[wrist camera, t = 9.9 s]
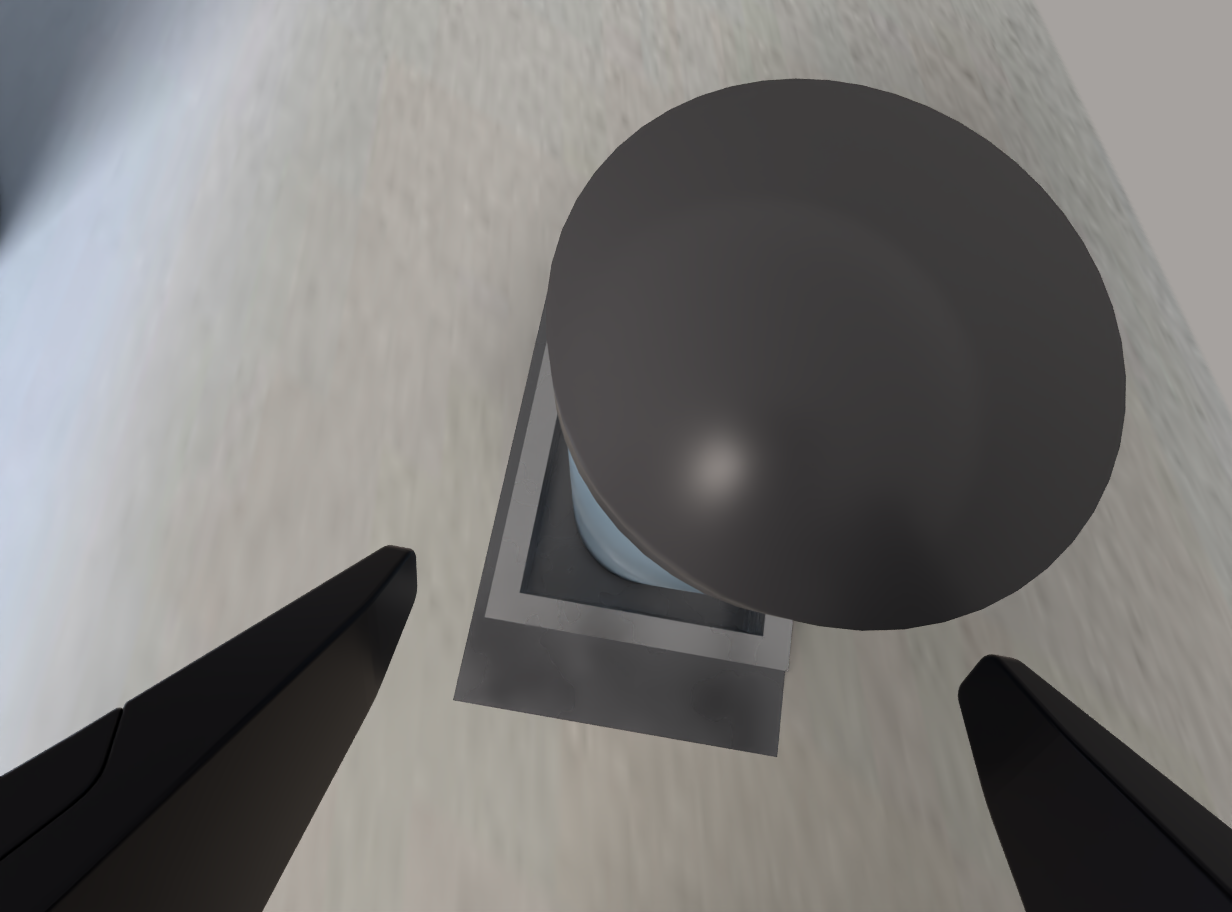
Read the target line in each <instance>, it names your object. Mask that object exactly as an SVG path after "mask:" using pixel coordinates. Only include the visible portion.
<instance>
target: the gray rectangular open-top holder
mask: <svg viewBox="0 0 1232 912" xmlns="http://www.w3.org/2000/svg"><path fill="white" fill-rule="evenodd" d="M546 298H547V296H546ZM792 624H793V620H789V619H785V618H780V617H776V616H771V615H767V614H763V613H759V612H755V611H751V610H747V609H743V608H739V607H736V606H734V605H731V604H729V603H726V602H724V601H721V600H719V599H716V598H714V597H711V596H709V595H706V594H701V593H695V592H689V591H683V590H676V589H670V588H664V587H658V586H652V585H646V584H640V583H635V582H631V581H628V580H625V579H623V578H620V577H618V576H616V575H615V574H613V573H611V572H609V571H608V570H607V569H605V568H604V567H603V566H601V565H600V564H599V563H598V562H597V561H596V560H595V559H594V558H593V557H592V555H591V554H590V553H589V551H588V550H587V549H586V547H585V545H584V544H583V542H582V540H581V538H580V535H579V533H578V530H577V527H576V523H575V518H574V511H573V500H572V489H571V478H570V466H569V455H568V447H567V444H566V442H565V439H564V435H563V432H562V428H561V425H560V421H559V417H558V414H557V410H556V404H555V397H554V389H553V382H552V375H551V368H550V360H549V353H548V346H547V338H546V300H545V305H544V309H543V313H542V317H541V322H540V326H539V330H538V335H537V339H536V343H535V348H534V352H533V356H532V361H531V365H530V369H529V374H528V378H527V382H526V387H525V391H524V395H523V400H522V404H521V408H520V413H519V417H518V421H517V426H516V430H515V434H514V439H513V443H512V447H511V452H510V456H509V460H508V465H507V469H506V473H505V478H504V482H503V486H502V491H501V495H500V499H499V504H498V508H497V512H496V517H495V521H494V525H493V530H492V534H491V538H490V543H489V547H488V551H487V556H486V560H485V564H484V569H483V573H482V577H481V582H480V586H479V590H478V595H477V599H476V603H475V608H474V612H473V616H472V621H471V625H470V629H469V634H468V638H467V642H466V647H465V651H464V655H463V659H462V664H461V668H460V672H459V677H458V681H457V685H456V690H455V694H454V698H453V700H455V701H461V702H466V703H472V704H478V705H483V706H489V707H495V708H501V709H506V710H512V711H518V712H523V713H529V714H535V715H540V716H546V717H552V718H557V719H563V720H569V721H575V722H580V723H586V724H592V725H597V726H603V727H609V728H614V729H620V730H626V731H631V732H637V733H643V734H649V735H654V736H660V737H666V738H671V739H677V740H683V741H688V742H694V743H700V744H706V745H711V746H717V747H723V748H728V749H734V750H740V751H745V752H751V753H757V754H762V755H768V756H774V757H777V752H778V741H779V731H780V720H781V709H782V698H783V687H784V676H785V671H788V668H789V657H790V646H791V635H792Z"/></svg>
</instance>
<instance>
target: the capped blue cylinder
mask: <svg viewBox="0 0 1232 912" xmlns="http://www.w3.org/2000/svg"><path fill="white" fill-rule="evenodd" d="M546 338H547V346H548V353H549V360H550V368H551V375H552V382H553V389H554V397H555V404H556V410H557V414H558V417H559V421H560V425H561V428H562V432H563V435H564V439H565V442H566V444H567V447H568V455H569V466H570V478H571V489H572V500H573V511H574V518H575V523H576V527H577V530H578V533H579V535H580V538H581V540H582V542H583V544H584V545H585V547H586V549H587V550H588V551H589V553H590V554H591V555H592V557H593V558H594V559H595V560H596V561H597V562H598V563H599V564H600V565H601V566H603V567H604V568H605V569H607V570H608V571H609V572H611V573H613V574H615V575H616V576H618V577H620V578H623V579H625V580H628V581H631V582H635V583H640V584H646V585H652V586H658V587H664V588H670V589H676V590H683V591H689V592H695V593H701V594H706V595H709V596H711V597H714V598H716V599H719V600H721V601H724V602H726V603H729V604H731V605H734V606H736V607H739V608H743V609H747V610H751V611H755V612H759V613H763V614H767V615H771V616H776V617H780V618H785V619H789V620H794V621H798V622H803V623H807V624H812V625H817V626H824V627H833V628H842V629H851V630H860V631H866V630H897V629H909V628H914V627H920V626H925V625H931V624H936V623H942V622H946V621H949V620H952V619H955V618H958V617H961V616H964V615H967V614H970V613H973V612H975V611H978V610H981V609H984V608H986V607H988V606H989V605H991V604H993V603H995V602H997V601H999V600H1001V599H1003V598H1005V597H1007V596H1008V595H1010V594H1012V593H1014V592H1016V591H1018V590H1019V589H1020V588H1022V587H1023V586H1024V585H1026V584H1027V583H1028V582H1030V581H1031V580H1032V579H1034V578H1035V577H1036V576H1038V575H1039V574H1040V573H1042V572H1043V571H1044V570H1046V569H1047V568H1048V567H1049V566H1050V565H1051V564H1052V563H1053V562H1054V561H1055V560H1056V559H1057V558H1058V557H1059V556H1060V555H1061V554H1062V553H1063V552H1064V551H1065V550H1066V549H1067V548H1068V547H1069V545H1070V544H1071V543H1072V542H1073V541H1074V540H1075V538H1076V537H1077V535H1078V534H1079V533H1080V531H1081V530H1082V528H1083V527H1084V525H1085V524H1086V523H1087V521H1088V520H1089V518H1090V517H1091V515H1092V514H1093V513H1094V511H1095V509H1096V507H1097V505H1098V502H1099V500H1100V498H1101V496H1102V494H1103V492H1104V490H1105V488H1106V486H1107V484H1108V482H1109V480H1110V477H1111V473H1112V470H1113V467H1114V464H1115V460H1116V457H1117V454H1118V451H1119V447H1120V442H1121V436H1122V429H1123V423H1124V416H1125V392H1126V374H1125V366H1124V358H1123V350H1122V342H1121V337H1120V333H1119V330H1118V326H1117V322H1116V318H1115V314H1114V310H1113V306H1112V304H1111V301H1110V298H1109V296H1108V293H1107V291H1106V288H1105V285H1104V283H1103V280H1102V278H1101V275H1100V273H1099V271H1098V269H1097V267H1096V265H1095V263H1094V262H1093V260H1092V258H1091V256H1090V254H1089V252H1088V250H1087V248H1086V246H1085V244H1084V243H1083V241H1082V240H1081V238H1080V237H1079V235H1078V234H1077V232H1076V231H1075V229H1074V228H1073V226H1072V225H1071V223H1070V222H1069V220H1068V219H1067V217H1066V216H1065V214H1064V213H1063V212H1062V211H1061V209H1060V208H1059V207H1058V206H1057V205H1056V204H1055V202H1054V201H1053V200H1052V199H1051V198H1050V196H1049V195H1048V194H1047V193H1046V192H1045V191H1044V189H1043V188H1042V187H1041V186H1040V185H1039V184H1038V183H1037V182H1036V181H1035V180H1034V179H1033V178H1032V177H1031V176H1030V175H1029V174H1028V173H1027V172H1026V171H1024V170H1023V169H1022V168H1021V167H1020V166H1019V165H1018V164H1017V163H1016V162H1015V161H1014V160H1012V159H1011V158H1010V157H1009V156H1007V155H1006V154H1005V153H1003V152H1002V151H1001V150H1000V149H998V148H997V147H996V146H995V145H993V144H992V143H991V142H989V141H988V140H987V139H985V138H983V137H982V136H980V135H979V134H977V133H976V132H974V131H972V130H971V129H969V128H968V127H966V126H964V125H963V124H961V123H960V122H958V121H956V120H954V119H952V118H950V117H948V116H946V115H944V114H942V113H940V112H938V111H936V110H934V109H932V108H930V107H928V106H925V105H923V104H920V103H917V102H915V101H912V100H910V99H907V98H904V97H902V96H899V95H896V94H893V93H889V92H885V91H882V90H878V89H874V88H870V87H867V86H863V85H857V84H850V83H844V82H837V81H831V80H814V79H783V80H767V81H759V82H753V83H748V84H742V85H737V86H731V87H728V88H724V89H721V90H718V91H715V92H712V93H708V94H705V95H702V96H699V97H697V98H694V99H692V100H690V101H688V102H686V103H683V104H681V105H679V106H677V107H675V108H672V109H670V110H669V111H667V112H665V113H664V114H662V115H661V116H659V117H657V118H656V119H654V120H652V121H651V122H649V123H648V124H646V125H644V126H643V127H641V128H640V129H639V130H638V131H637V132H635V133H634V134H633V135H632V136H631V137H629V138H628V139H627V140H626V141H625V142H623V143H622V144H621V145H620V146H619V147H617V148H616V150H615V151H614V152H613V153H612V154H611V155H610V156H609V157H608V158H607V160H606V161H605V162H604V163H603V164H602V165H601V166H600V167H599V168H598V169H597V171H596V172H595V173H594V175H593V176H592V177H591V179H590V180H589V182H588V183H587V185H586V186H585V188H584V189H583V191H582V192H581V194H580V195H579V197H578V198H577V200H576V202H575V204H574V206H573V208H572V210H571V212H570V215H569V217H568V219H567V221H566V223H565V225H564V227H563V229H562V232H561V235H560V238H559V242H558V245H557V248H556V251H555V255H554V258H553V261H552V265H551V272H550V278H549V285H548V291H547V298H546Z"/></svg>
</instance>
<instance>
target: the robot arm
mask: <svg viewBox="0 0 1232 912" xmlns="http://www.w3.org/2000/svg"><path fill="white" fill-rule="evenodd" d="M416 593H417V569H416V555H415V552H414V551H413V550H412V549H410V548H404V547H398V546H393V545H387V546H384V547H382V548H381V549H379V550H377V551H376V552H374V553H372V554H371V555H369V556H367V557H366V558H364V559H362V560H361V561H359V562H357V563H356V564H354V565H353V566H351V567H349V568H348V569H346V570H344V571H343V572H341V573H339V574H338V575H336V576H334V577H333V578H331V579H329V580H328V581H326V582H324V583H323V584H321V585H319V586H318V587H316V588H315V589H313V590H311V591H310V592H308V593H306V594H305V595H303V596H301V597H300V598H298V599H296V600H295V601H293V602H291V603H290V604H288V605H286V606H285V607H283V608H281V609H280V610H278V611H276V612H275V613H273V614H272V615H270V616H268V617H267V618H265V619H263V620H262V621H260V622H258V623H257V624H255V625H253V626H252V627H250V628H248V629H247V630H245V631H243V632H242V633H240V634H238V635H237V636H235V637H234V638H232V639H230V640H229V641H227V642H225V643H224V644H222V645H220V646H219V647H217V648H215V649H214V650H212V651H210V652H209V653H207V654H205V655H204V656H202V657H200V658H199V659H197V660H196V661H194V662H192V663H191V664H189V665H187V666H186V667H184V668H182V669H181V670H179V671H177V672H176V673H174V674H172V675H171V676H169V677H167V678H166V679H164V680H162V681H161V682H159V683H157V684H156V685H154V686H153V687H151V688H149V689H148V690H146V691H144V692H143V693H141V694H139V695H138V696H136V697H134V698H133V699H131V700H129V701H128V702H126V704H125V705H124V707H123V709H122V708H116V709H114V710H112V711H111V712H109V713H107V714H106V715H104V716H103V717H101V718H99V719H98V720H96V721H94V722H93V723H91V724H89V725H88V726H86V727H84V728H83V729H81V730H79V731H78V732H76V733H74V734H73V735H71V736H69V737H67V738H66V739H64V740H62V741H61V742H59V743H57V744H55V745H54V746H52V747H50V748H49V749H47V750H45V751H43V752H42V753H40V754H38V755H37V756H35V757H33V758H31V759H30V760H28V761H26V762H25V763H23V764H21V765H20V766H18V767H16V768H14V769H13V770H11V771H9V772H7V773H5V774H4V775H2V776H0V912H262V911H263V909H264V907H265V906H266V904H267V902H268V900H269V898H270V896H271V894H272V892H273V890H274V889H275V887H276V885H277V883H278V881H279V879H280V877H281V875H282V873H283V872H284V870H285V868H286V866H287V864H288V862H289V860H290V858H291V857H292V855H293V853H294V851H295V849H296V847H297V845H298V843H299V841H300V840H301V838H302V836H303V834H304V832H305V830H306V828H307V826H308V825H309V823H310V821H311V819H312V817H313V815H314V813H315V811H316V809H317V808H318V806H319V804H320V802H321V800H322V798H323V796H324V794H325V793H326V791H327V789H328V787H329V785H330V783H331V781H332V779H333V777H334V776H335V774H336V772H337V770H338V768H339V766H340V764H341V762H342V761H343V759H344V757H345V755H346V753H347V751H348V749H349V747H350V745H351V744H352V742H353V740H354V738H355V736H356V734H357V732H358V730H359V729H360V727H361V725H362V723H363V721H364V719H365V717H366V715H367V713H368V712H369V710H370V708H371V706H372V704H373V702H374V699H375V697H376V695H377V693H378V691H379V688H380V686H381V684H382V681H383V679H384V676H385V674H386V671H387V669H388V666H389V664H390V661H391V659H392V656H393V654H394V651H395V649H396V646H397V644H398V641H399V639H400V636H401V634H402V631H403V629H404V626H405V624H406V621H407V619H408V616H409V614H410V611H411V609H412V606H413V604H414V601H415V598H416ZM958 700H959V705H960V708H961V712H962V716H963V720H964V723H965V727H966V731H967V734H968V738H969V742H970V746H971V749H972V753H973V757H974V761H975V764H976V768H977V772H978V775H979V779H980V783H981V787H982V790H983V793H984V797H985V800H986V804H987V806H988V809H989V812H990V815H991V818H992V821H993V824H994V826H995V829H996V832H997V835H998V837H999V840H1000V843H1001V846H1002V848H1003V851H1004V854H1005V856H1006V859H1007V862H1008V865H1009V867H1010V870H1011V873H1012V876H1013V878H1014V881H1015V884H1016V886H1017V889H1018V892H1019V895H1020V897H1021V900H1022V903H1023V905H1024V908H1025V911H1026V912H1232V829H1231V828H1230V827H1228V826H1227V825H1226V824H1225V823H1223V822H1222V821H1221V820H1220V819H1218V818H1217V817H1216V816H1215V815H1213V814H1212V813H1211V812H1210V811H1208V810H1207V809H1206V808H1205V807H1203V806H1202V805H1201V804H1200V803H1198V802H1197V801H1196V800H1194V799H1193V798H1192V797H1191V796H1189V795H1188V794H1187V793H1186V792H1184V791H1183V790H1182V789H1181V788H1179V787H1178V786H1177V785H1176V784H1174V783H1173V782H1172V781H1171V780H1169V779H1168V778H1167V777H1166V776H1164V775H1163V774H1162V773H1160V772H1159V771H1158V770H1157V769H1155V768H1154V767H1153V766H1152V765H1150V764H1149V763H1148V762H1147V761H1145V760H1144V759H1143V758H1142V757H1140V756H1139V755H1138V754H1137V753H1135V752H1134V751H1133V750H1132V749H1130V748H1129V747H1128V746H1127V745H1125V744H1124V743H1123V742H1121V741H1120V740H1119V739H1118V738H1116V737H1115V736H1114V735H1113V734H1111V733H1110V732H1109V731H1108V730H1106V729H1105V728H1104V727H1103V726H1101V725H1100V724H1099V723H1098V722H1096V721H1095V720H1094V719H1093V718H1091V717H1090V716H1089V715H1088V714H1086V713H1085V712H1084V711H1082V710H1081V709H1080V708H1079V707H1077V706H1076V705H1075V704H1074V703H1072V702H1071V701H1070V700H1069V699H1067V698H1066V697H1065V696H1064V695H1062V694H1061V693H1060V692H1059V691H1057V690H1056V689H1055V688H1054V687H1052V686H1051V685H1050V684H1049V683H1047V682H1046V681H1045V680H1043V679H1042V678H1041V677H1040V676H1038V675H1037V674H1036V673H1035V672H1033V671H1032V670H1031V669H1030V668H1028V667H1027V666H1026V665H1025V664H1023V663H1022V662H1021V661H1019V660H1017V659H1014V658H1010V657H1004V656H999V655H993V654H991V655H987V656H984V657H983V658H982V659H981V660H980V661H979V662H978V664H977V665H976V666H975V667H974V668H973V670H972V671H971V672H970V673H969V675H968V676H967V677H966V678H965V679H964V681H963V682H962V683H961V685H960V687H959V690H958Z"/></svg>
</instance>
